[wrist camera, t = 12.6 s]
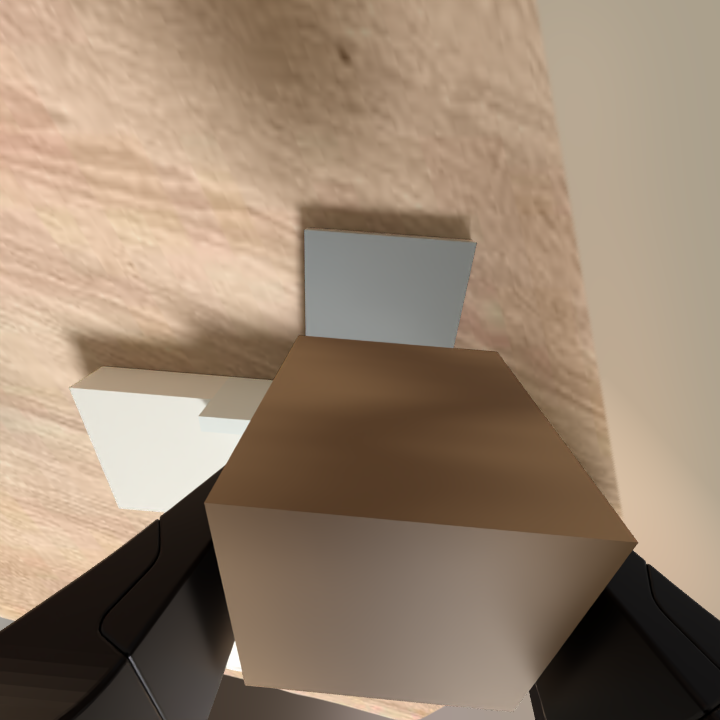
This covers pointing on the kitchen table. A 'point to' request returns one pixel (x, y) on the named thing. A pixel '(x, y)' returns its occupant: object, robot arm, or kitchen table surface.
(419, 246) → the pad
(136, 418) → the channel
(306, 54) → the kitchen table surface
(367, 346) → the block
